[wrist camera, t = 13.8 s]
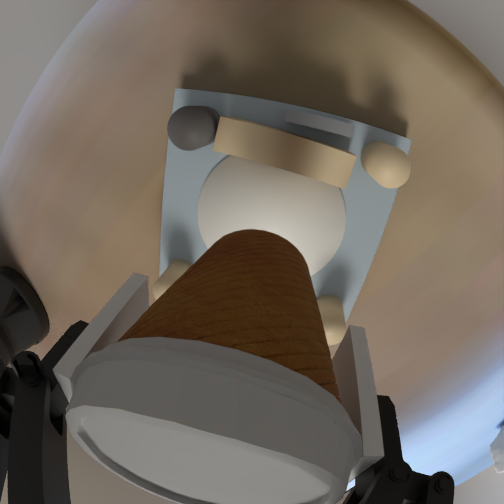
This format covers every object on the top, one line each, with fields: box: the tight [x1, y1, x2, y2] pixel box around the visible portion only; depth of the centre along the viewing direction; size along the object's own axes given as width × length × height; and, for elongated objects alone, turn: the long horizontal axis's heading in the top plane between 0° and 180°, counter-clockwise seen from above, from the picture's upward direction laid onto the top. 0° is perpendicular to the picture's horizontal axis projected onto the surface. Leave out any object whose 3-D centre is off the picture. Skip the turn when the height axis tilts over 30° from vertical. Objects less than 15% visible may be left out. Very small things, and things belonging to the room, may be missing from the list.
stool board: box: [152, 88, 412, 345], centre depth 25 cm, size 20×20×6 cm
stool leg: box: [167, 106, 357, 189], centre depth 21 cm, size 14×3×3 cm, turn 75°
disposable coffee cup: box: [65, 229, 362, 504], centre depth 12 cm, size 10×10×12 cm
